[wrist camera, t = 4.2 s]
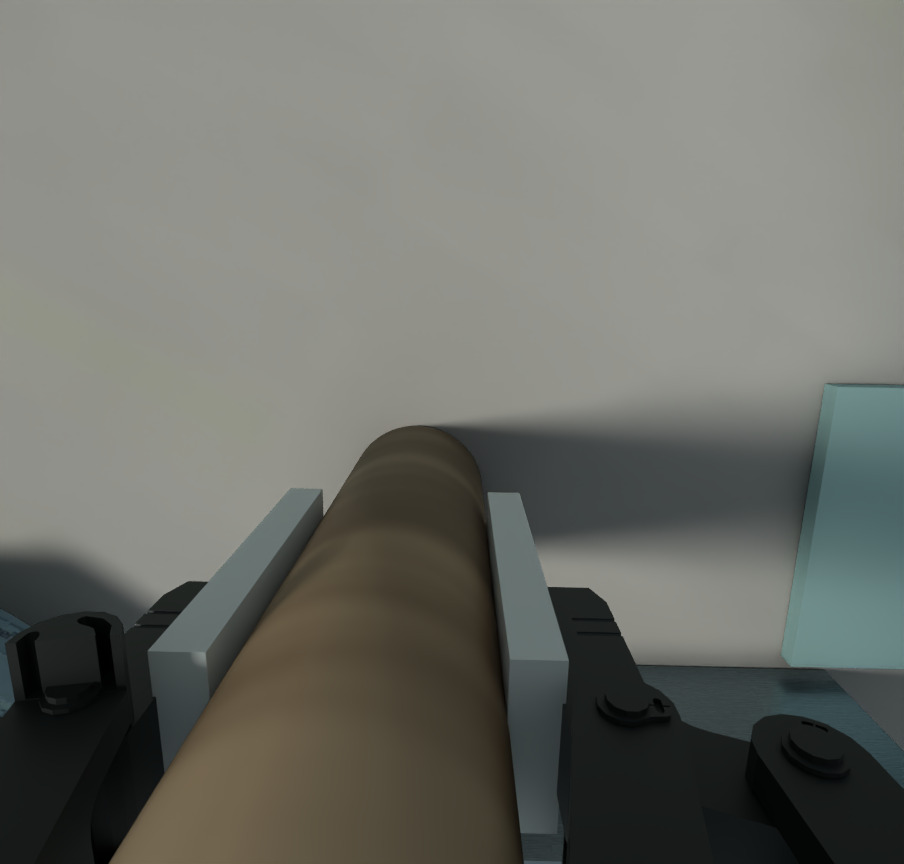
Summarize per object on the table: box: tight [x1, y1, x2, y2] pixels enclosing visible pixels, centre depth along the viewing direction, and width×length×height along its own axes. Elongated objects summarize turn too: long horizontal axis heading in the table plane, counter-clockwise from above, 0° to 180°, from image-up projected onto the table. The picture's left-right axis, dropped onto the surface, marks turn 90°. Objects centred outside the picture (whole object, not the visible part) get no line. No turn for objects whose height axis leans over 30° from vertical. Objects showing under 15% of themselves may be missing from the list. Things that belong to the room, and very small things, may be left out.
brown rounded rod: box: [108, 426, 524, 864], centre depth 10 cm, size 4×4×16 cm
